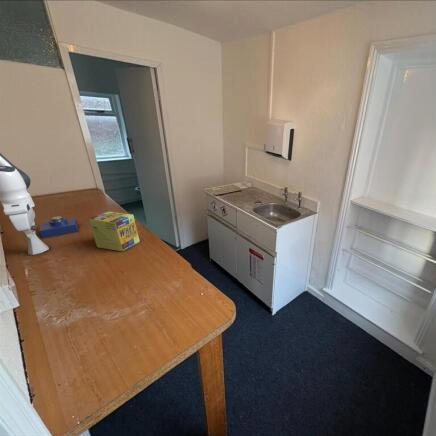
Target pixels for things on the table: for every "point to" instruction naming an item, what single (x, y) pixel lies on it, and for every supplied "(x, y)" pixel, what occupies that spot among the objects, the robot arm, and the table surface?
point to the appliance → (58, 227)
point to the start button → (57, 218)
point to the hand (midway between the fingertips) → (32, 232)
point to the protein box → (114, 231)
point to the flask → (36, 245)
